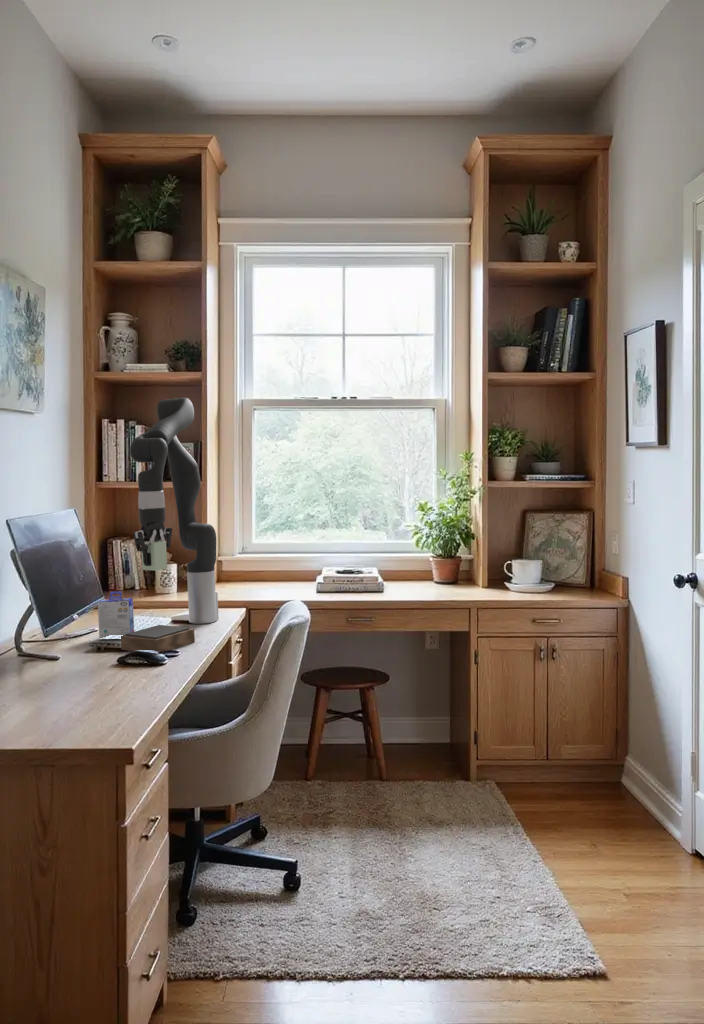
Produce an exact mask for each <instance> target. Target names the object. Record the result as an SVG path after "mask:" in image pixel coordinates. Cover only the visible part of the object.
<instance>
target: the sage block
mask: <svg viewBox="0 0 704 1024" xmlns="http://www.w3.org/2000/svg"><path fill="white" fill-rule="evenodd" d="M166 543H167V540H166V541H154V543H152V545H151V551H150V553H151V566H145V565H144V563H143V553H142V552H141V563H142V565H141V566H142V571H160V570H165V569H168V556H167V555H168V553H167V548H166ZM146 548H147V545H146Z"/></svg>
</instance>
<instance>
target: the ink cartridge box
mask: <svg viewBox="0 0 704 1024" xmlns="http://www.w3.org/2000/svg"><path fill="white" fill-rule="evenodd" d="M122 593H123V591H122V590H119V591H116V590H115V591H110V594H109V598H108V599H107V598H106V599H101V600H99V601H98V602H97V612H98V613H97V615H98V618H97V619H98V637H99V638H103V637H106V636H109V635H126V634H127V633H131V632H135V619H134V615H135V614H134V601H133V600H134V599H133V597H128V598H127V597H125V598H122V595H123V594H122ZM115 594H118V595H115Z"/></svg>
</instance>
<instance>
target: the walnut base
mask: <svg viewBox="0 0 704 1024" xmlns="http://www.w3.org/2000/svg"><path fill="white" fill-rule="evenodd" d="M195 639H196V637H195V629H194V628H190V627H184V626H174V625H163V624H156V625H155V626H154V625H153V626H151V627H147V628H143V629H139V630H134V632H131V633H127V634H126V635H123V636H121V639H120V650H121V651H129V652H135V651H134V650H155V651H159V652H162V653H165V652H168V651H171V650H174V649H178V648H180V647H184V646H188V645H190V644H194V643H196V640H195ZM164 651H165V652H164Z"/></svg>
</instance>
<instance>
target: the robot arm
mask: <svg viewBox="0 0 704 1024" xmlns="http://www.w3.org/2000/svg"><path fill="white" fill-rule="evenodd" d="M156 411H157V414H156V415H157V419H158V421H157V422H155V423H154V424H153V425H152V426H151V427H150V428H149V430H148V431H147V432H145V433H142V434H141V435H138V436H137V437H136V438H134V439H133V440H132V442H131V443H130V446H129V454H130V457H131V459H132V460H133V461H135V462H137V463H153V464H152V467H151V468H150V469H147V470H143V471H142V470H141V471H140V472H139V473H138V475H137V481H138V484H137V486H138V497H137V498H138V499H137V500H138V502H137V503H138V519H139V521H138V523H139V524H140V525H141V528H140V530H139V531H133V533H132V534H133V535H132V536H133V538H134V544H135V547H136V551H137V552H141V554H142V553H143V563H144V565H145V566H151V553H150V551H151V545H152V543H154V541H166V549H168V548H169V549H170V548H171V542H172V534H173V533H172V532H173V528H172V527H166V526H165V523H166V519H167V518H166V501H165V500H166V499H165V498H166V497H165V493H164V480H163V479H164V470H165V465H166V461H168V466H169V471H170V472H169V474H170V478H171V483H172V488H173V492H174V493H173V494H174V498H175V499H174V500H175V504H176V512H177V520H178V531H179V533H178V534H179V540H180V543H181V545H182V547H183V548H184V549H185V550H188V551H195V552H196V555H195V558H194V560H191V561H189V562H188V563H186V581H187V598H188V599H187V601H188V621H189V624H197V625H201V624H202V625H203V624H210V623H215V622H217V620H219V619H220V618H219V617H220V616H219V601H218V599H219V598H218V595H219V594H218V591H216V589H217V588H216V575H215V574H216V572H215V571H216V570H215V567H216V563H217V533H216V530H215V528H214V526H213V525H212V524H210V523H204V522H203V523H197V519H196V514H195V511H196V510H195V508H196V507H195V506H196V501H197V498H198V496H199V493H200V490H201V475H200V470H199V466H198V463H197V462H196V461H197V460H196V459H194V457H193V456H192V455H191V454H190V452H188V451H187V449H186V448H185V447H184V446H183V445H182V444H181V442H180V440H179V438H178V437H177V435H178V434H179V433H180V432H182V431H183V430H184V429H185V428H187V427H189V426H190V425H191V424H192V423H193V421H194V419H195V409H194V405H193V402H192V401H191V400H190V398H188V397H177V398H175V397H174V398H170V399H169V398H168V399H162V400H160V401H158V402H157V405H156ZM146 545H147V548H146Z"/></svg>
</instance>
